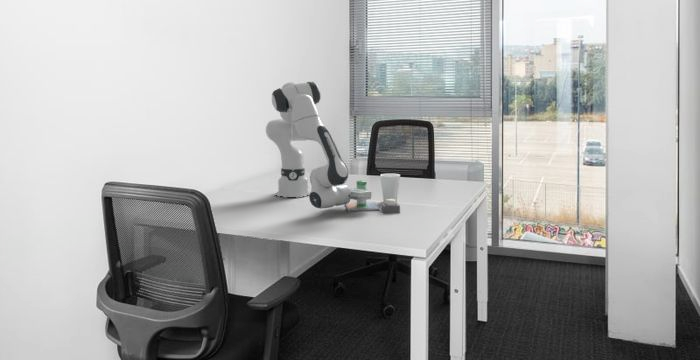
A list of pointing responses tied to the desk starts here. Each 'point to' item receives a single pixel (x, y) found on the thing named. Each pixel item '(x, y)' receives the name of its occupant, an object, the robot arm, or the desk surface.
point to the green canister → (362, 185)
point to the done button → (390, 202)
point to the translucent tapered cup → (390, 186)
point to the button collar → (390, 208)
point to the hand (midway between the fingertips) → (362, 190)
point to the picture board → (362, 207)
